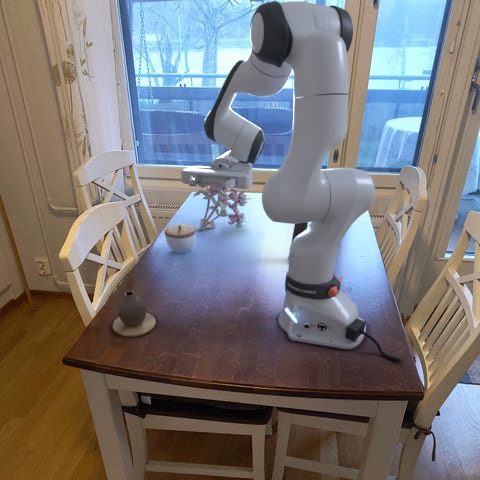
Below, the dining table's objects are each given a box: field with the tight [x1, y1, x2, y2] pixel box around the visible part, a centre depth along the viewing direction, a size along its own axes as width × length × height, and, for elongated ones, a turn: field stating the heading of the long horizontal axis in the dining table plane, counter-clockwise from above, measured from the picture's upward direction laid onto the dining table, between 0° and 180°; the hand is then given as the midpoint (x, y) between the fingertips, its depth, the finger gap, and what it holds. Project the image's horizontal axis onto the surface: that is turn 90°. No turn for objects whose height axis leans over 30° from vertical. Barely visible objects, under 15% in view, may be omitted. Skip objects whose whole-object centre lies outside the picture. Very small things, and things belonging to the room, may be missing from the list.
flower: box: [192, 163, 252, 232], centre depth 164 cm, size 20×22×25 cm
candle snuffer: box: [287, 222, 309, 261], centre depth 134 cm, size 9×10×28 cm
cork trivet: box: [112, 312, 157, 338], centre depth 111 cm, size 11×11×1 cm
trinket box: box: [164, 223, 197, 255], centre depth 148 cm, size 11×11×9 cm
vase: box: [117, 290, 147, 327], centre depth 108 cm, size 7×7×9 cm
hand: (207, 184), depth 113 cm, fingers open, 8 cm apart
